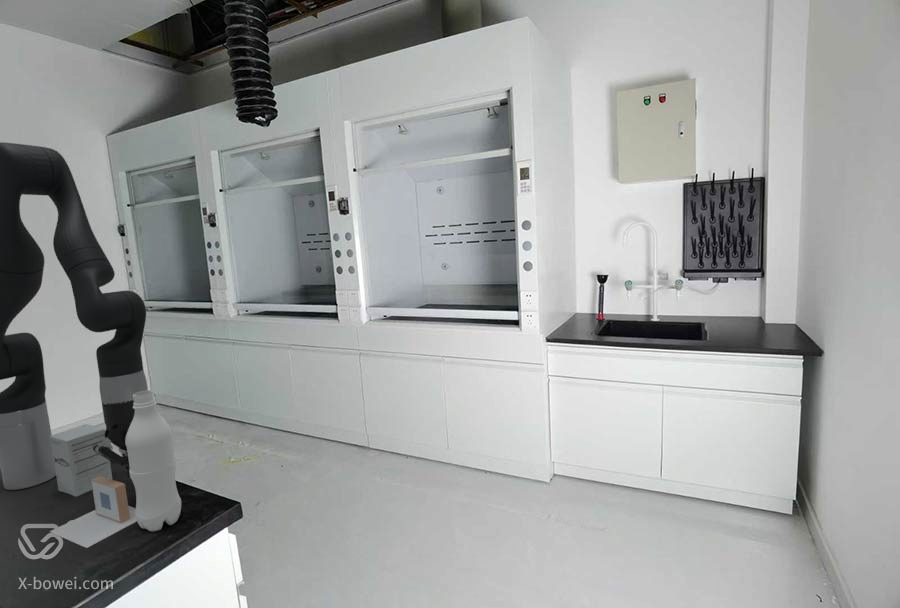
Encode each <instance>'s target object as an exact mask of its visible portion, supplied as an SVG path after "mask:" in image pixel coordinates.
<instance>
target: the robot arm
mask: <svg viewBox="0 0 900 608" xmlns="http://www.w3.org/2000/svg"><path fill="white" fill-rule="evenodd" d="M22 195H28V196H30V195H31V196H47V197H49V198H50V200H51V201H52V202H53V205H55V207H56V211H57V221H56V225H55V229H54V234H53V242H52V244H53V251H54V254H55V257H56V258H57V260H58V263H59V264H60V266H61V267H62V269H63V271H64V272H65V274H66V276H67V278H68V280H69V281H70V285H71V289H72V293H73V295H72V296H73V300H74V303H75V311H76V315H77V318H78V321H79V323H80V324H81V325H82V326H83V327H84V328H85V329H86V330H89V331H90V332H93V333H105V332H110V331H114V330H115V333H114V335H113V338H112V339H110V340H109V341H107V342H105V343H103V344H101V345H100V346H98V347H97V349H96V352H95V353H96V354H95V355H96V357H95V358H96V362H97V369H98V374H99V375H98V376H99V394H100V401H101V406H102V407H101V408H102V414H103V415H102V416H103V420H104V424H105V434H104V436H105V439H104V440H103V441H102V442H101V443H100V445H95V446H94V448H93V451H95V452H96V453H98V454H100V455H101V456H103V457H104V458H106V459H108V460H109V461H110V463H112V464H115V465H120V466H122V467H123V466H125V471H126V473H125V474H126V477H127V479H128V480H130V481H131V482H133V481H132V479H131V478H130V473H129V470H130V466H129V459H128V452H127V446H126V445H125V439H126V435H127V432H128V429H129V427H130V425H131V422H132V420H133V418H134V414H135V409H133V406H134V404H133V403H134V400H133V399H134V398H133V394H135V393H137V392H141V391H147V390H149V387H148V382H147V381H148V380H147V376H146V375H145V374H146V373H145V371H144V362H143V357H142V350H141V348H142V344H143V343H142V342H143V338H144V331H145V326H146V319H147V309H146V308H147V307H146V304H145V302H144V300H143V299H142V297H141V296H140V295H139V294H138V293H137V292H135V291H132V290H119V291H112V292H111V291H109V292H102V290H101V287H104V286H106V285H107V284H109V283H111V281H113V280H114V278H115V271H114V267H113V266H112V264H111V262H110V260H109V259H108V257H107V255H106V254H105V251H104V250H103V249H102V247H101V245H100V243H99V241H98V240H97V237H96V236H95V234H94V231H93V230H92V229H93V228H91V227H92V226H91V225H90V221H89V219H88V216H87V213H86V209H85V208H84V204H83V202H82V197H81V195H80V193H79V190H78V188H77V184H76V181H75V179H74V176H73V174H72V171H71V168H70V167H69V165H68V162H67V160H66V159H65V158H64V157H63V156H62V154H61V153H60V152H59V151H57V150H55V149H53V148H50V147H47V146H46V147H45V146H38V145H32V144H23V143H22V144H21V143H14V142H12V143H11V142H3V141H1V142H0V381H1V380H6V379H10V378H11V379H12V378H15V379H14V381H13V382H12V383H11V384H10V385H9V386H8V387H6V388H5V389H4V390H2V391H0V472H1V479H2V484H3V488H4V490H9V491H12V490H13V491H16V490H22V489H27V488H31V487H35V486H38V485H40V484H43V483H45V482H47V481H50V480H52V479H53V478H54V477H55V476H56V471H55V465H54V458H53V452H52V446H51V440H50V436H51V435H53V433H52V429H51V423H50V417H49V411H48V405H47V400H46V391H47V390H46V389H47V388H46V387H47V386H46V379H45V377H46V376H45V369H44V368H45V367H44V355H43V351H42V347H41V343H40V341H39V340H38V339H37V337H36V336H35V334H34V335H33V334H32V333H31V332H19V333H11V334H6V333H7V330H8V328H9V327H10V325H11V323H12V322H13V321H14V319H15V318H16V317H17V315H19V314H20V313H21V312H22V311H23V310H24V309H25V308H26V306H27V305H29V303H31V302H32V300H33V299H34V298H35V296H37V294H38V293H39V291H40V290H41V287H42V283H43V275H44V269H45V256H44V253H43V250H42V249H41V248H40V245H39V244H38V243H37V242H36V239H34V237H33V236H32V235H31V233H30V232H29V231H28V229H27V227H26V226H25V224H24V223H23V219H22V218H21V210H20V209H21V206H20V205H21V199H22V198H21V197H22ZM112 444H113V445H114V446H115V447H117V449H118V451H119V453H120V454H118V453H116V452H115V451H114V450H113V449H114V448H113V445H112Z"/></svg>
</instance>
